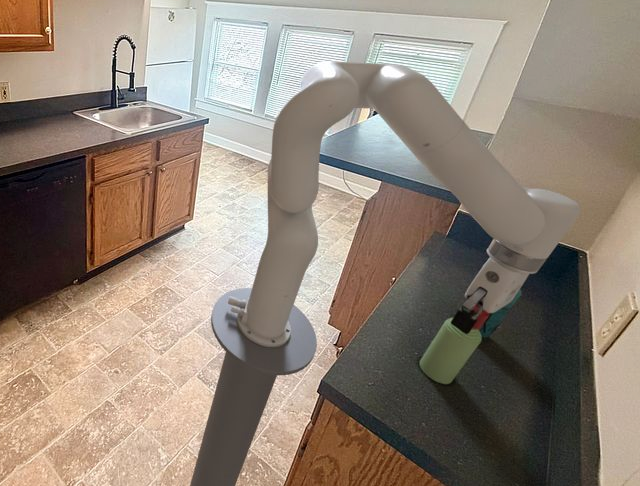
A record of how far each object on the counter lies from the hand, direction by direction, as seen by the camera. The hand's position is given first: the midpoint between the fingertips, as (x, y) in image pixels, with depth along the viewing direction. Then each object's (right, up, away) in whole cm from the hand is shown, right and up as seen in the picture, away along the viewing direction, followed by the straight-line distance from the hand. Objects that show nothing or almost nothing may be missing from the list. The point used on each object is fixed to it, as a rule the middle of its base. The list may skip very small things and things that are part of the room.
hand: (468, 322), depth 78 cm
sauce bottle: (-2, -14, +7) cm, 15 cm away
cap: (0, 0, 0) cm, 0 cm away
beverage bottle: (+16, -9, +19) cm, 27 cm away
